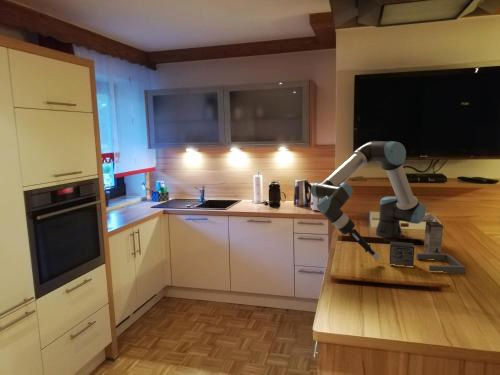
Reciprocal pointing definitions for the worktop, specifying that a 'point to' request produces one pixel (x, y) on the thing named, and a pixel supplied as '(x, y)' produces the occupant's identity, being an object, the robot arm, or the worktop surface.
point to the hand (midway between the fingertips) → (377, 258)
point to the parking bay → (454, 268)
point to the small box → (402, 253)
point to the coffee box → (433, 237)
